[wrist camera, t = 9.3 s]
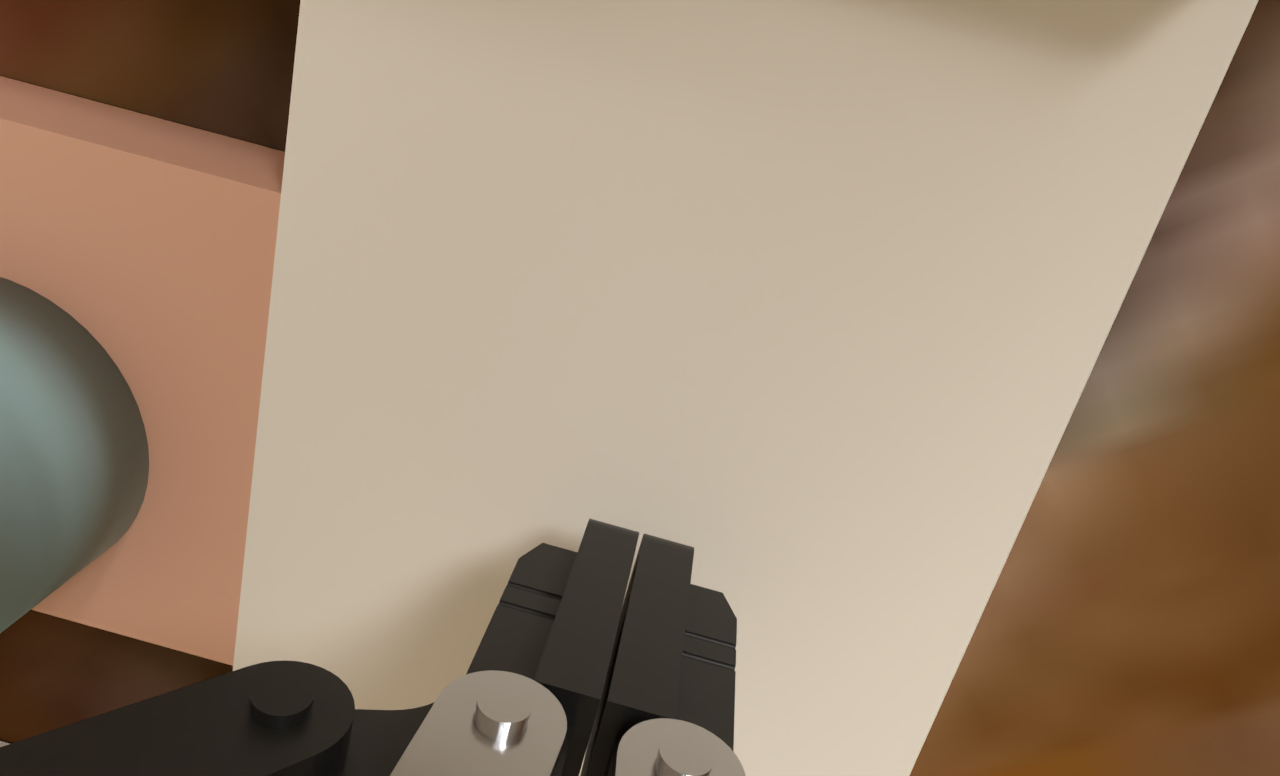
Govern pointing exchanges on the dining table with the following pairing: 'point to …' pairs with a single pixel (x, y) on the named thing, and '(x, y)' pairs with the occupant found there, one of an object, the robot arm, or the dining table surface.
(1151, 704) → the dining table surface
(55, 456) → the puck
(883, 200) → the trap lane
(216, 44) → the dining table surface
